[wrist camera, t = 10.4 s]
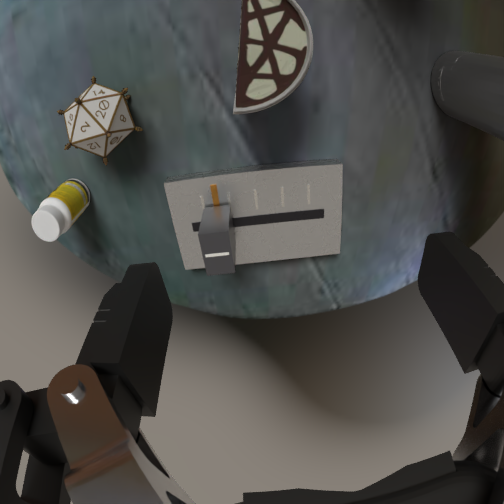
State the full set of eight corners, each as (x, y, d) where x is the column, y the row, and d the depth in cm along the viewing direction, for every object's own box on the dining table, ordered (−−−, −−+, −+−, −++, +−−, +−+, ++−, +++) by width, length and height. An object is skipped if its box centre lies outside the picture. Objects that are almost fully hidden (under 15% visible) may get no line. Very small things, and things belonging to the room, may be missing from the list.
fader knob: (230, 204, 36) (228, 231, 31) (235, 242, 39) (235, 273, 34) (203, 207, 36) (197, 235, 31) (211, 245, 39) (207, 276, 34)
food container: (291, 107, 32) (310, 124, 24) (235, 103, 32) (232, 118, 23) (301, 3, 25) (324, -18, 17) (242, -3, 25) (242, -27, 17)
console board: (337, 158, 36) (342, 164, 34) (336, 245, 42) (340, 253, 40) (167, 177, 36) (163, 183, 34) (187, 260, 43) (185, 270, 41)
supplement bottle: (65, 172, 35) (32, 200, 28) (95, 186, 36) (66, 218, 29) (57, 202, 37) (26, 234, 30) (85, 216, 38) (58, 251, 31)
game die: (114, 96, 33) (76, 53, 24) (166, 117, 33) (135, 69, 23) (75, 157, 33) (25, 127, 23) (124, 185, 33) (76, 156, 23)
